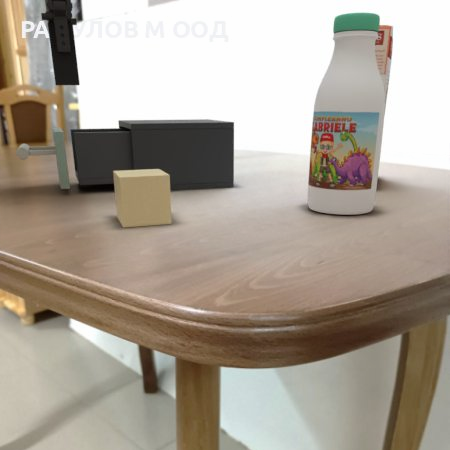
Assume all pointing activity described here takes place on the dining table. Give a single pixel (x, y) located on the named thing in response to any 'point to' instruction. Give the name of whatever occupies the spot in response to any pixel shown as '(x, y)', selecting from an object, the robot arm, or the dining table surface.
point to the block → (142, 197)
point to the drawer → (88, 154)
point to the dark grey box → (185, 151)
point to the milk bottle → (348, 121)
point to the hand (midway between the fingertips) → (67, 84)
